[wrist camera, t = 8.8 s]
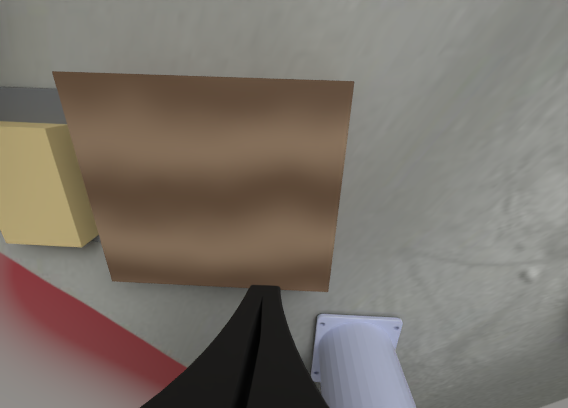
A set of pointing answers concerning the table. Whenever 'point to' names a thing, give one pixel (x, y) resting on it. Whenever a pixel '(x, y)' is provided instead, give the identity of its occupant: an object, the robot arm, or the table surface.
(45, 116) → the mat
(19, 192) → the pale yellow block
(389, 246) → the table surface
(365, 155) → the table surface
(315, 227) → the board
